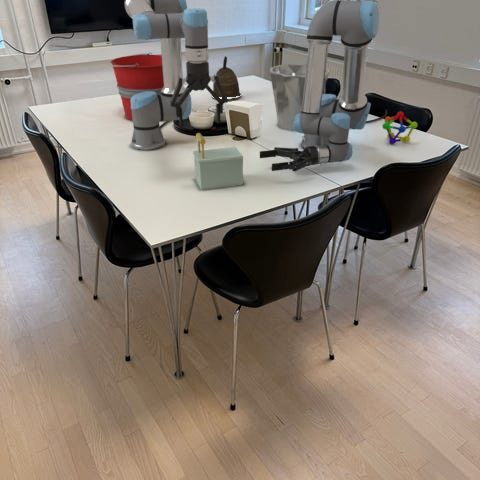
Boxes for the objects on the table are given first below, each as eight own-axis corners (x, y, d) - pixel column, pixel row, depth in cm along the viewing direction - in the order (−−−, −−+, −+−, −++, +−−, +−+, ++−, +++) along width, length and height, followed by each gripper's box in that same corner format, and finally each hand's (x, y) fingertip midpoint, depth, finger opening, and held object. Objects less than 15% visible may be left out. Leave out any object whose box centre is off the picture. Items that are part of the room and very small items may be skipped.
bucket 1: (124, 106, 262) (117, 51, 246) (183, 106, 262) (180, 52, 246) (108, 124, 233) (99, 63, 217) (174, 124, 232) (170, 64, 216)
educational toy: (377, 146, 209) (379, 114, 202) (384, 138, 219) (386, 107, 211) (411, 149, 202) (415, 116, 195) (417, 141, 212) (420, 109, 204)
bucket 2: (296, 138, 215) (301, 78, 201) (255, 124, 234) (256, 68, 219) (335, 125, 232) (342, 70, 217) (294, 113, 251) (297, 61, 236)
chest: (201, 190, 166) (199, 163, 160) (195, 179, 174) (194, 153, 168) (242, 184, 170) (243, 158, 164) (235, 174, 178) (235, 149, 173)
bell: (227, 105, 294) (202, 96, 282) (238, 66, 289) (213, 55, 277) (243, 108, 280) (217, 98, 268) (255, 66, 275) (229, 55, 263)
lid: (198, 163, 160) (197, 141, 156) (192, 153, 168) (191, 132, 164) (243, 158, 164) (243, 136, 160) (235, 149, 173) (235, 128, 168)
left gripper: (161, 65, 141) (167, 130, 152) (236, 61, 147) (236, 124, 158) (158, 61, 147) (163, 124, 158) (230, 57, 153) (230, 118, 164)
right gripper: (328, 175, 170) (277, 182, 165) (301, 153, 191) (255, 158, 185) (330, 157, 166) (278, 163, 161) (303, 136, 187) (255, 141, 181)
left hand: (200, 124), depth 158 cm, fingers open, 13 cm apart
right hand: (265, 161), depth 173 cm, fingers open, 13 cm apart
